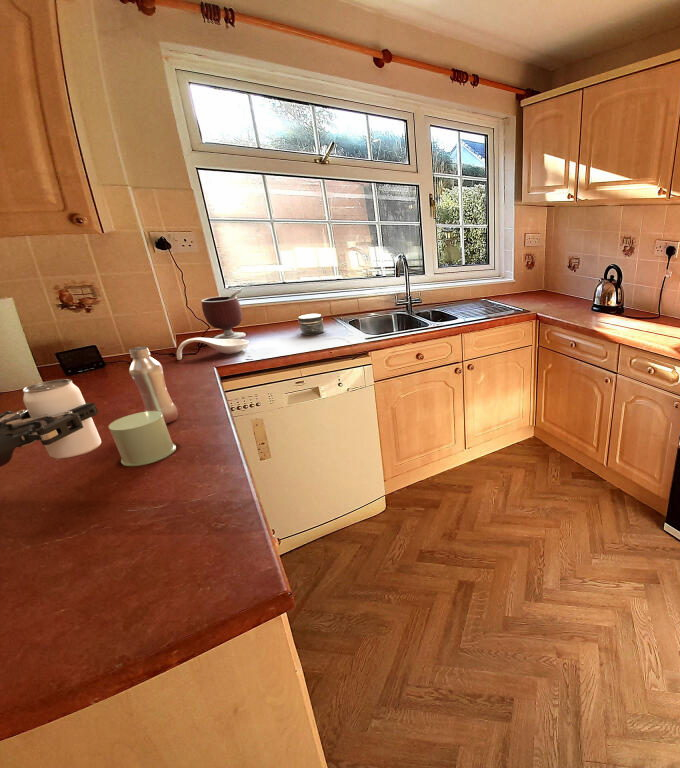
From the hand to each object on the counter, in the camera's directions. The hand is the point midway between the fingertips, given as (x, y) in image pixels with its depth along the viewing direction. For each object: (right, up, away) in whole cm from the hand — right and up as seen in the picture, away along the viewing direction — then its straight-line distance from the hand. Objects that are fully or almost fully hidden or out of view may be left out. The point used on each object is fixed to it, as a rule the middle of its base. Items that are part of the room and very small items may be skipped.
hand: (75, 407), depth 72 cm
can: (0, -8, 0) cm, 8 cm away
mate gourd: (-50, +25, +116) cm, 129 cm away
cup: (-7, -12, +22) cm, 26 cm away
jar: (-17, +27, +121) cm, 125 cm away
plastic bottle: (-16, -6, +38) cm, 42 cm away
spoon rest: (-41, +15, +92) cm, 102 cm away
